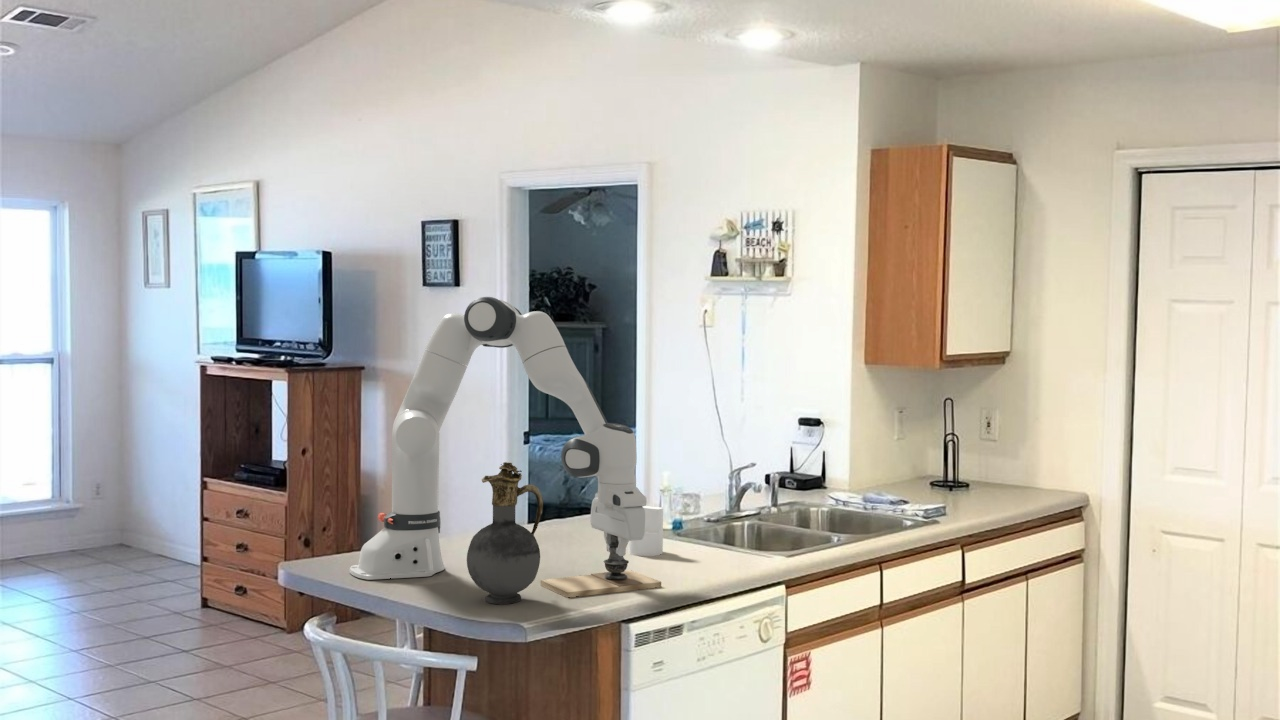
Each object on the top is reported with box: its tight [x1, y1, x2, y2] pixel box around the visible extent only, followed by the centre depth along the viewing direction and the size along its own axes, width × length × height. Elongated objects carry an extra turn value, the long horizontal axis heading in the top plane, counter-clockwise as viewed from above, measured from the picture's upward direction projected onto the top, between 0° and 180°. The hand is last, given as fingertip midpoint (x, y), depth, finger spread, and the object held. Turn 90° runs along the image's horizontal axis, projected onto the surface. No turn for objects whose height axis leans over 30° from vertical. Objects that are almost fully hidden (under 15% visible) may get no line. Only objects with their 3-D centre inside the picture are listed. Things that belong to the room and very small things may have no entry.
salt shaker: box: [603, 534, 630, 579], centre depth 287 cm, size 6×6×12 cm
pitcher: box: [466, 461, 544, 605], centre depth 271 cm, size 11×19×30 cm, turn 138°
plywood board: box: [540, 570, 662, 599], centre depth 285 cm, size 24×14×1 cm, turn 120°
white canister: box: [627, 505, 664, 557], centre depth 325 cm, size 9×9×12 cm
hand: (616, 553), depth 287 cm, fingers closed on salt shaker, 3 cm apart
